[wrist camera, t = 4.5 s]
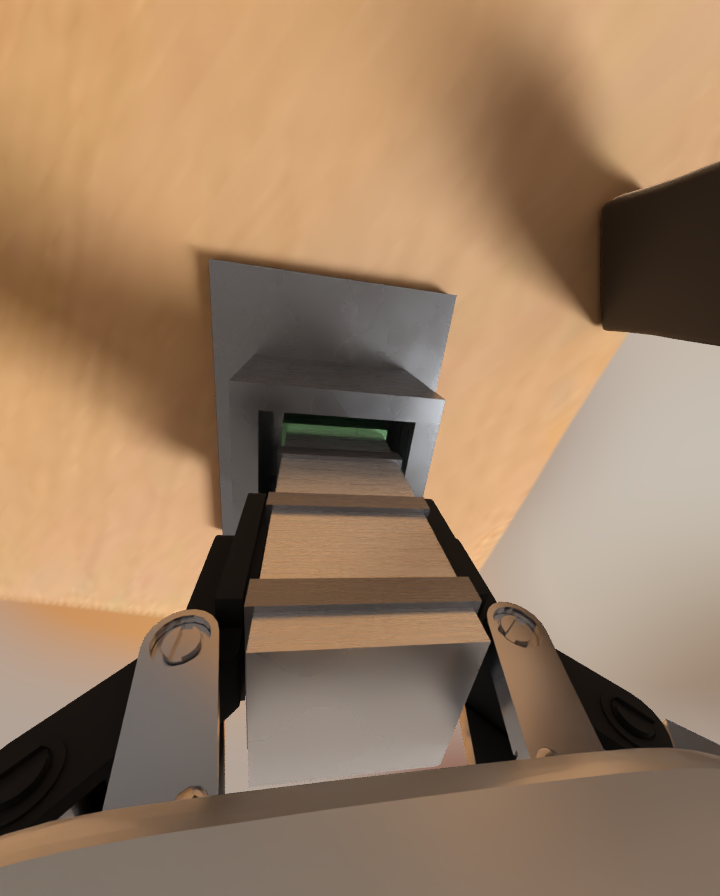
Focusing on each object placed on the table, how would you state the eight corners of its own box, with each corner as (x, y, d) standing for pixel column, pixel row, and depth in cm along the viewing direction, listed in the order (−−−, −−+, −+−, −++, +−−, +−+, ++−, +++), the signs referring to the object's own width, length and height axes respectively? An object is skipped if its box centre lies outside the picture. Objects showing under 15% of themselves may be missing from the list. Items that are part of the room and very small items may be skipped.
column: (287, 398, 17) (231, 645, 5) (373, 406, 17) (504, 633, 6) (284, 475, 18) (238, 794, 7) (362, 479, 19) (445, 768, 7)
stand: (214, 260, 16) (112, 221, 8) (449, 295, 18) (564, 293, 10) (226, 531, 22) (177, 667, 14) (399, 533, 24) (443, 653, 16)
